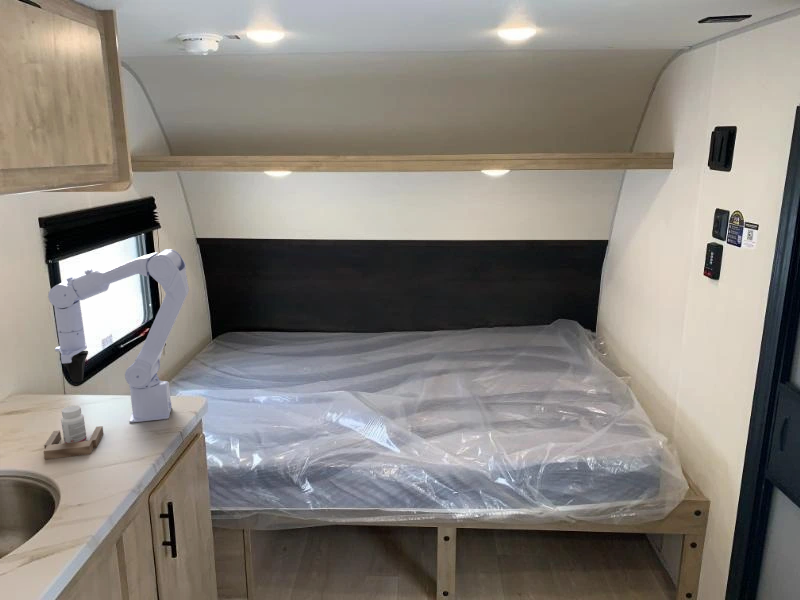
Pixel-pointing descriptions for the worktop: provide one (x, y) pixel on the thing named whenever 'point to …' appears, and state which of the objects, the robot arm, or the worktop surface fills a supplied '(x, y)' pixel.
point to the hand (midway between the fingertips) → (77, 381)
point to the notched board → (71, 445)
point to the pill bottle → (73, 425)
